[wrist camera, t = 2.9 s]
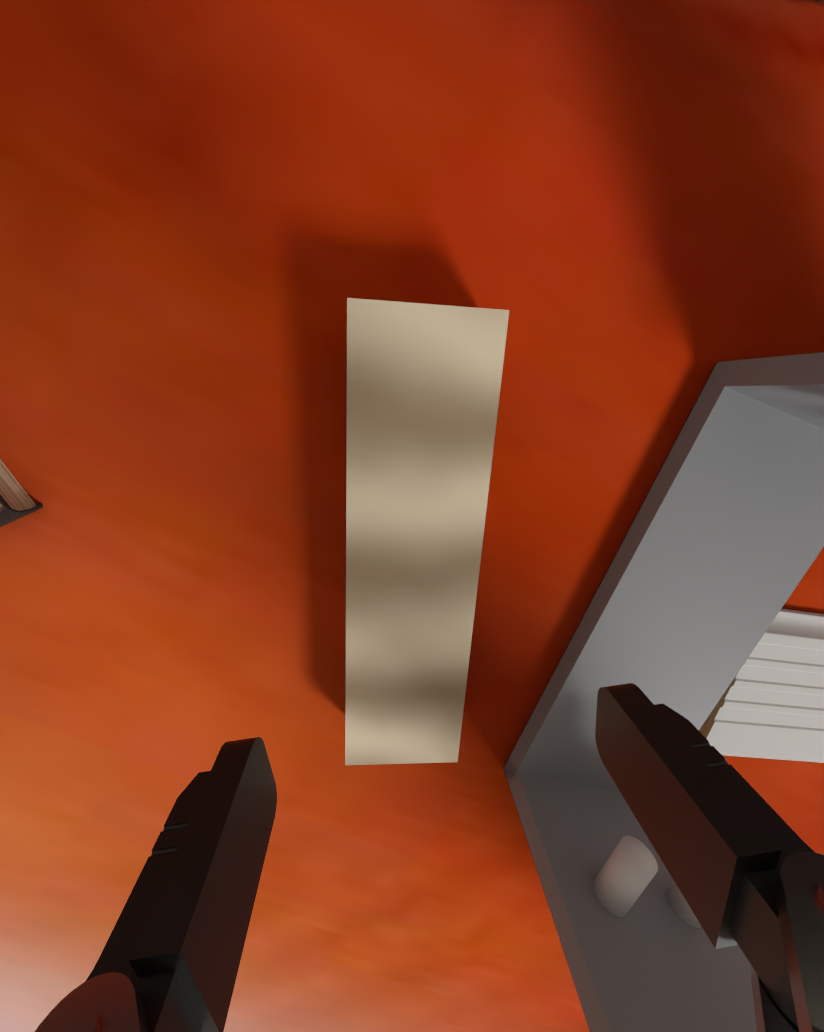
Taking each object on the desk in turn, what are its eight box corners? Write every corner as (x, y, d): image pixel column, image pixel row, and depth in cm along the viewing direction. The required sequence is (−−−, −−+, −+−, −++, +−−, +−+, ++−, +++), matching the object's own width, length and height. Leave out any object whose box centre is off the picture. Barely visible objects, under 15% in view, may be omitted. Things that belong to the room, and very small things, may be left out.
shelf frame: (632, 794, 27) (950, 1300, 12) (503, 768, 26) (683, 1316, 10) (871, 430, 20) (2290, 538, 5) (717, 362, 19) (2155, 228, 4)
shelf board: (447, 711, 24) (457, 762, 21) (350, 713, 24) (345, 765, 21) (485, 325, 18) (509, 310, 15) (353, 315, 17) (347, 297, 14)
